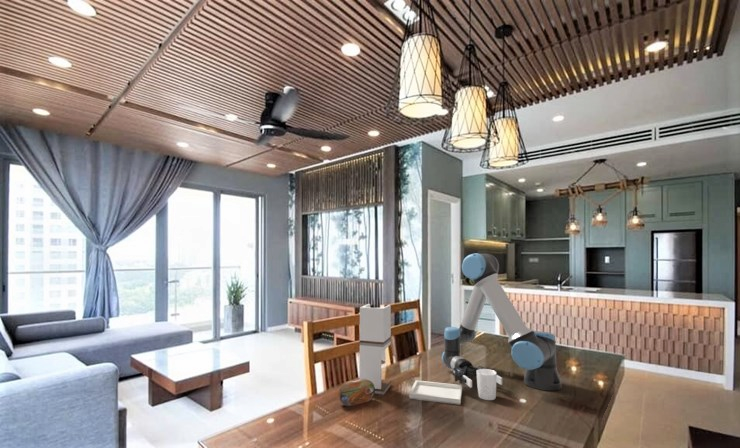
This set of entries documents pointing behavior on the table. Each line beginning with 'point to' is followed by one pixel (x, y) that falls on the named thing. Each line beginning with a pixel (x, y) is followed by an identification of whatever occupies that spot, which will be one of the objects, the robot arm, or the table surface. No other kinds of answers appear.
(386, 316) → the white tall box
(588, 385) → the table surface
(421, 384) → the tray
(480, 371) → the white cup
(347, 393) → the tin
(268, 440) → the table surface
